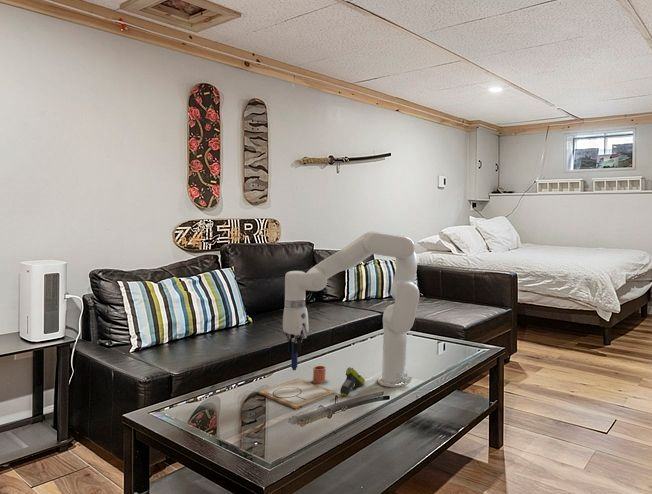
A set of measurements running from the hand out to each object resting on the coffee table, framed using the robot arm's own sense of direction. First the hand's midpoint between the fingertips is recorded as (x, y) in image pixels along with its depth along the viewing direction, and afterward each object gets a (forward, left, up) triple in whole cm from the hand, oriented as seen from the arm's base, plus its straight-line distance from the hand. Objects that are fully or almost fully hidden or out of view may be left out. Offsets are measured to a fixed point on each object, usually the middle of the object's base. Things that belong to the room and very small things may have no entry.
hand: (294, 351), depth 187 cm
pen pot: (0, -12, -15) cm, 20 cm away
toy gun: (-17, -14, -15) cm, 27 cm away
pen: (0, 0, -7) cm, 7 cm away
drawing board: (-3, +1, -15) cm, 16 cm away
